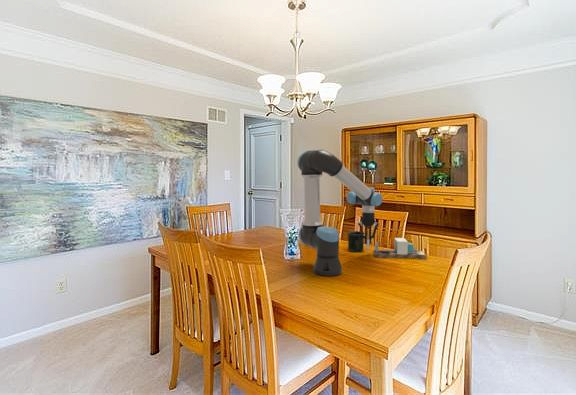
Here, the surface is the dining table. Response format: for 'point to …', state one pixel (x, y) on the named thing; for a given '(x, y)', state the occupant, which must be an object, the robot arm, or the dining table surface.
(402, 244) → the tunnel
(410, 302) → the dining table surface
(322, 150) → the robot arm
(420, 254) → the deck
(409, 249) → the block
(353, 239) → the mug
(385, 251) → the sled
